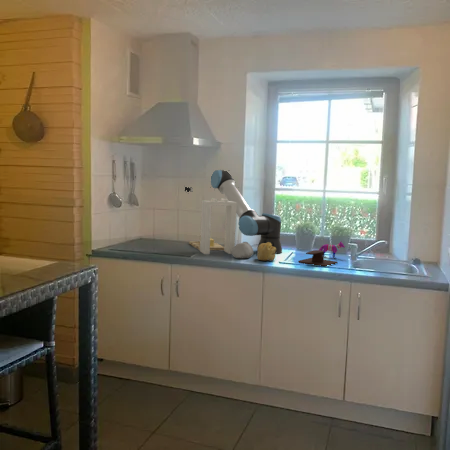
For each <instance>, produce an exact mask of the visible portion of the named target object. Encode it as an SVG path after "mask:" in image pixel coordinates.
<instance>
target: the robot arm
mask: <svg viewBox="0 0 450 450" xmlns="http://www.w3.org/2000/svg"><path fill="white" fill-rule="evenodd" d="M224 170H225V169H216V170H213V171H214V172H213V174H212V176H211V181H210V185H211V187H212V188H214V190H215V189H218V191H219V193H221V194H223V195H224V196H225V197H226V198H225V199H227V200H228V201H232V202H237V209H236V215H237V216H238V228H239V231H240V233H241V234H243V235H244V236H249V237H253V236H254V237H255V236H260V240H259V241H258V245H257V248H256V251H257V252H258V246H259V245H260V244H262V243H267V242H270V243H271V244H272V246H273V247H275V248H276V251H275V255H276V254H282V253H283V247H282V243H281V240H280V239H281V228H282V227H281V225H282V217H281V215H278V214H270V213H264V212H262V213H261V215H259V214H258V212H256V210H254V209H251V207H250V206H249V204H248V203H247V201H246V200H245V198H244V197H243V195H242V194H241V192H240V191H239V190H238V188H236V186H235V184H236V182H235V181H234V179H233V178H232V176H231V175H230V174H229V173H228V172H227V171H224ZM184 187H185V186H184ZM186 190H187V192H189V191H190V192H193V188H192V187H190V188H189V187H188V188H187V187H185V190H184V192H186ZM187 192H186V193H187Z"/></svg>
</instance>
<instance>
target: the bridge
mask: <svg viewBox="0 0 450 450" xmlns="http://www.w3.org/2000/svg"><path fill="white" fill-rule="evenodd" d="M213 206H224V207H225V220H224V221H225V222H224V223H225V225H224V238H223V239H224V241H223V243H224V244H223V247H224V250H223V252H225V253H226V254H229V255H232V253H231V251H232V249H233V248H234V247H235V246H236V244H235V243H236V224H237V213H236V209H237V202H232V201H228V199H227V198H220V200H219V199H218V198H214V197H211V199H210V200H205V199H204V200H203V199H202V200H201V211H200V212H201V213H200V214H201V216H200V234H199V241H200V250H199V252H200V253H202V254H203V255H210V254H211V253H210V252H211V250H210V238H211V230H212V229H211V227H212V226H211V225H212V207H213Z"/></svg>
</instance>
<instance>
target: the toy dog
mask: <svg viewBox="0 0 450 450" xmlns="http://www.w3.org/2000/svg"><path fill="white" fill-rule="evenodd" d="M345 247H346V246H345V245H344V243H343V242H342V241H339V243H338V244H327V243H326V244H323V245H322V246H320V248H318V250H320V251H324V255H323V257H324V256H325V253H326V252H332V258H334V257H335V258H336V253H337V252H338V251H340V249H341V248H343V249H344V248H345Z"/></svg>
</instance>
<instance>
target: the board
mask: <svg viewBox="0 0 450 450" xmlns="http://www.w3.org/2000/svg"><path fill="white" fill-rule="evenodd" d="M188 243H189V245H191V246H192V247H194V248H195V249H197V250H199V251H200V240H196V241H188ZM210 251H224V245H221V244H219V243H217V242H215V243H214V246H210Z"/></svg>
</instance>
